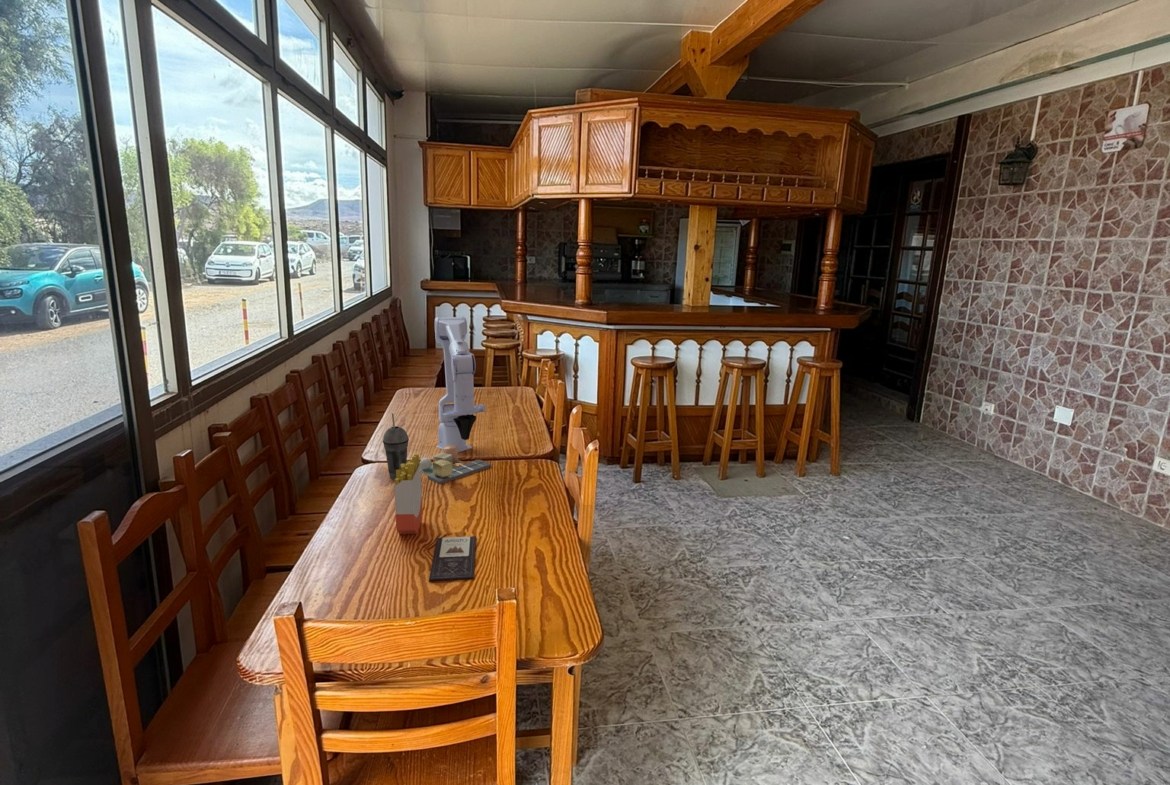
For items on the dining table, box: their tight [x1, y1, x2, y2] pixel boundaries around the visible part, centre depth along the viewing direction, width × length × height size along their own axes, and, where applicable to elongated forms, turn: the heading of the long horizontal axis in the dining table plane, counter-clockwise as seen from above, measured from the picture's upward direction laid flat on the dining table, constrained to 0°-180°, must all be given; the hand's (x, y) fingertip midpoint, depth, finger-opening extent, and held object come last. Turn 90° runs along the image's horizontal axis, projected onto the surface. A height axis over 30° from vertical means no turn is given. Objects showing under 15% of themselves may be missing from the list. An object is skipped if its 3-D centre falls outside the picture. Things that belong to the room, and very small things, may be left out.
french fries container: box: [394, 453, 423, 535], centre depth 144 cm, size 5×11×18 cm, turn 5°
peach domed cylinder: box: [442, 445, 459, 464], centre depth 188 cm, size 4×4×5 cm
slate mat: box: [420, 459, 465, 476], centre depth 185 cm, size 8×14×1 cm, turn 139°
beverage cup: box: [382, 412, 410, 481], centre depth 174 cm, size 7×7×20 cm
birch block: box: [433, 452, 453, 467], centre depth 184 cm, size 4×4×4 cm
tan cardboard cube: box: [432, 459, 452, 477], centre depth 175 cm, size 4×4×4 cm
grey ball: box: [419, 457, 433, 470], centre depth 182 cm, size 4×4×4 cm
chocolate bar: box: [428, 535, 477, 583], centre depth 133 cm, size 9×1×18 cm
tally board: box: [427, 459, 492, 485], centre depth 181 cm, size 6×19×1 cm, turn 139°
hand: (465, 439), depth 180 cm, fingers closed
